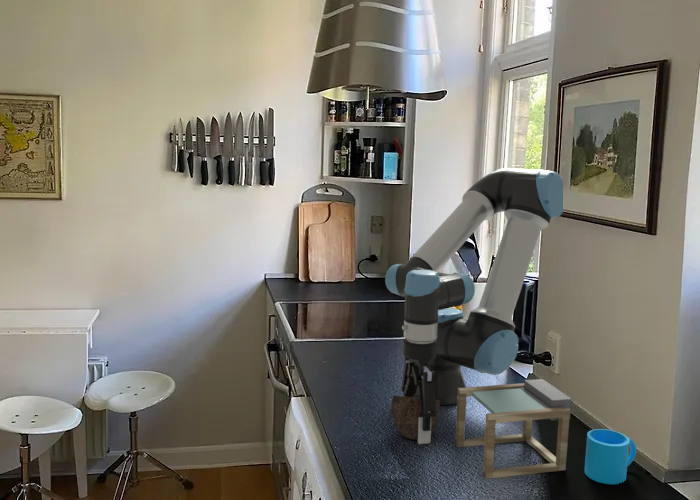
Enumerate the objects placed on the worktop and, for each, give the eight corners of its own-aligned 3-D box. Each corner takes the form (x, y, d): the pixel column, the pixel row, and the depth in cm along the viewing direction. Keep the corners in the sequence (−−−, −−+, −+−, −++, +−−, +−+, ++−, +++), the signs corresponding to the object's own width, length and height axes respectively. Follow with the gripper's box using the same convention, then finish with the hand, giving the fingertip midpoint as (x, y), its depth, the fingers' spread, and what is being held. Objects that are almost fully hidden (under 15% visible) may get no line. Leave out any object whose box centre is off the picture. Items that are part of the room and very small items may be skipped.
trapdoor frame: (455, 444, 154) (457, 388, 152) (527, 437, 158) (531, 382, 156) (485, 478, 139) (489, 416, 137) (565, 470, 143) (570, 409, 141)
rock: (431, 402, 165) (454, 392, 157) (434, 446, 161) (457, 437, 153) (385, 396, 161) (406, 385, 153) (386, 441, 156) (408, 431, 148)
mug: (604, 487, 136) (607, 449, 135) (575, 469, 144) (578, 432, 142) (649, 476, 141) (652, 439, 140) (619, 459, 149) (622, 423, 147)
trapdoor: (471, 403, 151) (472, 384, 150) (541, 397, 155) (542, 379, 154) (495, 425, 140) (496, 405, 139) (570, 418, 144) (571, 398, 143)
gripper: (389, 326, 164) (386, 415, 168) (421, 355, 143) (417, 456, 147) (419, 325, 166) (416, 413, 169) (454, 353, 145) (450, 453, 148)
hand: (416, 433), depth 158 cm, fingers closed on rock, 9 cm apart
